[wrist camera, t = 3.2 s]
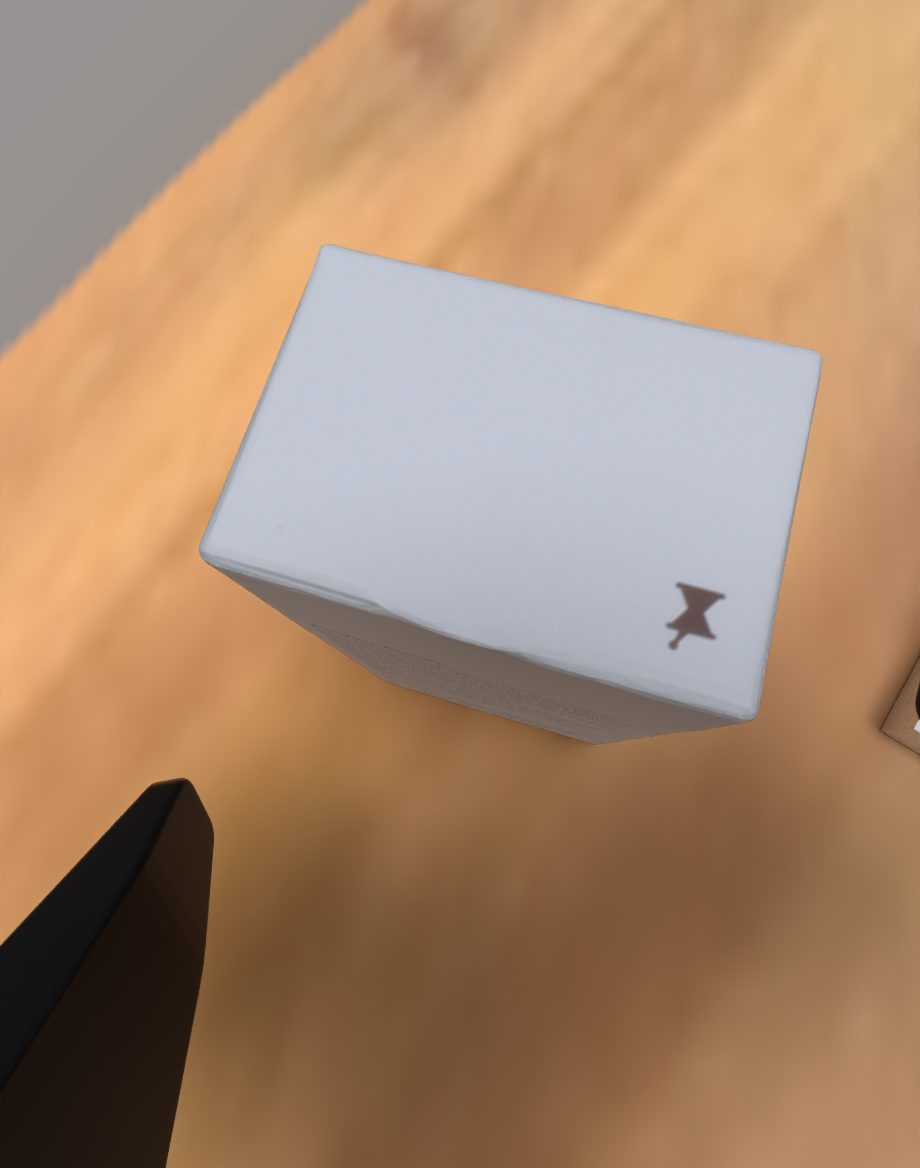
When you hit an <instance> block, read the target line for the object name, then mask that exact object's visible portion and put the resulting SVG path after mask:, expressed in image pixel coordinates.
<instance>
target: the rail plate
mask: <svg viewBox="0 0 920 1168" xmlns="http://www.w3.org/2000/svg"><path fill="white" fill-rule="evenodd" d="M919 682H920V658H919V660H918V661H917V663H916V665H915V667H914V669H913V671H912V673H911V674H910V676H909V678H908V680H907V682H906V684H905V686H904V687H903V689H902V691H901V693H900V695H899V697H898V699H897V700H896V702H895V704H894V706H893V708H892V710H891V712H890V713H889V715H888V717H887V719H886V721H885V723H884V725H883V726H882V728H881V730H880V731H882V732H884V733H885V734H887V735H888V736H890V737H892V738H893V739H895V740H897V741H898V742H900V743H902V744H903V745H905V746H907V747H908V748H910V749H912V750H913V751H915V752H917V753H918V754H920V720H919V718H918V715H917V712H916V707H915V699H916V694H917V690H918V686H919Z"/></svg>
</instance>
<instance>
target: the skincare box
mask: <svg viewBox="0 0 920 1168" xmlns="http://www.w3.org/2000/svg"><path fill="white" fill-rule="evenodd" d="M822 362H823V358H822V357H821V355H820V354H819V353H817V352H816V351H814V350H812V349H806V348H801V347H796V346H791V345H786V344H781V343H776V342H772V341H767V340H763V339H758V338H754V337H749V336H744V335H740V334H735V333H730V332H726V331H721V330H717V329H712V328H708V327H703V326H699V325H695V324H690V323H686V322H682V321H677V320H673V319H668V318H663V317H658V316H654V315H649V314H644V313H640V312H635V311H630V310H626V309H621V308H616V307H612V306H607V305H602V304H598V303H593V302H588V301H584V300H579V299H574V298H569V297H565V296H560V295H555V294H550V293H546V292H541V291H536V290H531V289H527V288H522V287H517V286H513V285H508V284H503V283H499V282H494V281H489V280H485V279H481V278H476V277H472V276H467V275H463V274H459V273H454V272H450V271H445V270H441V269H436V268H432V267H427V266H422V265H418V264H413V263H408V262H404V261H399V260H394V259H390V258H385V257H381V256H377V255H373V254H369V253H365V252H360V251H356V250H351V249H348V248H344V247H341V246H337V245H331V244H325V245H323V246H322V247H321V249H320V251H319V253H318V256H317V259H316V262H315V265H314V268H313V271H312V273H311V276H310V278H309V281H308V283H307V286H306V288H305V290H304V293H303V295H302V298H301V300H300V302H299V305H298V307H297V310H296V312H295V314H294V317H293V319H292V322H291V324H290V326H289V329H288V331H287V334H286V336H285V338H284V341H283V343H282V346H281V348H280V351H279V353H278V355H277V358H276V360H275V363H274V365H273V367H272V370H271V372H270V375H269V377H268V379H267V382H266V384H265V387H264V389H263V392H262V394H261V396H260V399H259V401H258V404H257V406H256V409H255V411H254V413H253V416H252V418H251V421H250V423H249V426H248V428H247V431H246V433H245V435H244V438H243V440H242V443H241V445H240V448H239V450H238V453H237V455H236V457H235V460H234V462H233V465H232V467H231V470H230V472H229V474H228V477H227V479H226V482H225V484H224V487H223V489H222V492H221V494H220V496H219V499H218V501H217V504H216V506H215V509H214V511H213V513H212V516H211V518H210V521H209V523H208V525H207V528H206V530H205V532H204V535H203V537H202V540H201V542H200V545H199V552H200V555H201V557H202V558H203V560H204V561H205V562H206V563H207V564H209V565H211V566H212V567H214V568H215V569H217V570H218V571H220V572H221V573H223V574H224V575H226V576H227V577H229V578H230V579H232V580H233V581H235V582H236V583H238V584H239V585H241V586H242V587H244V588H245V589H247V590H248V591H250V592H251V593H253V594H254V595H256V596H257V597H259V598H260V599H261V600H263V601H264V602H266V603H267V604H269V605H270V606H272V607H273V608H275V609H276V610H278V611H279V612H281V613H282V614H284V615H285V616H287V617H288V618H290V619H291V620H293V621H294V622H296V623H297V624H299V625H300V626H301V627H303V628H304V629H306V630H308V631H309V632H311V633H312V634H314V635H316V636H317V637H319V638H320V639H322V640H323V641H325V642H326V643H327V644H329V645H331V646H332V647H334V648H336V649H337V650H339V651H340V652H342V653H343V654H345V655H346V656H348V657H349V658H351V659H352V660H354V661H355V662H357V663H359V664H360V665H361V666H363V667H364V668H366V669H367V670H369V671H370V672H372V673H373V674H375V675H376V676H378V677H379V678H381V679H382V680H384V681H386V682H389V683H392V684H396V685H399V686H402V687H405V688H408V689H412V690H415V691H418V692H421V693H424V694H427V695H430V696H433V697H437V698H440V699H443V700H447V701H450V702H453V703H457V704H460V705H463V706H466V707H470V708H473V709H476V710H480V711H483V712H486V713H489V714H493V715H496V716H500V717H503V718H506V719H510V720H513V721H517V722H520V723H524V724H527V725H531V726H534V727H537V728H541V729H544V730H548V731H551V732H555V733H558V734H561V735H565V736H568V737H571V738H575V739H578V740H581V741H584V742H587V743H590V744H595V745H596V744H603V743H611V742H617V741H622V740H629V739H635V738H643V737H653V736H658V735H665V734H671V733H679V732H688V731H698V730H705V729H711V728H716V727H722V726H727V725H733V724H739V723H744V722H748V721H751V720H752V719H753V718H755V717H756V716H757V714H758V712H759V706H760V700H761V694H762V689H763V683H764V677H765V672H766V666H767V660H768V655H769V649H770V643H771V638H772V632H773V626H774V620H775V615H776V609H777V604H778V599H779V593H780V588H781V582H782V577H783V571H784V566H785V561H786V555H787V550H788V544H789V539H790V534H791V528H792V523H793V517H794V512H795V507H796V502H797V496H798V491H799V486H800V480H801V475H802V470H803V464H804V459H805V454H806V448H807V443H808V438H809V433H810V428H811V423H812V417H813V412H814V407H815V402H816V397H817V392H818V386H819V381H820V375H821V369H822Z"/></svg>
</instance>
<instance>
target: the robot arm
mask: <svg viewBox="0 0 920 1168" xmlns="http://www.w3.org/2000/svg"><path fill="white" fill-rule="evenodd" d="M915 707H916V712H917V715H918V718H919V720H920V682H919V686H918V690H917V694H916V699H915ZM213 847H214V831H213V826H212V822H211V820H210V818H209V816H208V814H207V812H206V810H205V808H204V806H203V804H202V802H201V800H200V798H199V796H198V794H197V792H196V790H195V788H194V786H193V785H192V783H191V782H190V781H189V780H188V779H185V778H178V779H172V780H167V781H161V782H156V783H154V784H152V785H150V786H149V787H148V788H147V789H146V790H145V791H144V792H143V793H142V794H141V795H140V796H139V797H138V799H137V800H136V801H135V802H134V803H133V804H132V805H131V806H130V807H129V808H128V809H127V810H126V811H125V812H124V814H123V815H122V816H121V817H120V818H119V819H118V820H117V821H116V822H115V823H114V824H113V825H112V826H111V828H110V829H109V830H108V831H107V832H106V833H105V834H104V835H103V836H102V837H101V838H100V839H99V840H98V841H97V843H96V844H95V845H94V846H93V847H92V848H91V849H90V850H89V851H88V852H87V853H86V854H85V855H84V856H83V858H82V859H81V860H80V861H79V862H78V863H77V864H76V865H75V866H74V867H73V868H72V869H71V870H70V871H69V873H68V874H67V875H66V876H65V877H64V878H63V879H62V880H61V881H60V882H59V883H58V884H57V885H56V886H55V888H54V889H53V890H52V891H51V892H50V893H49V894H48V895H47V896H46V897H45V898H44V899H43V900H42V901H41V903H40V904H39V905H38V906H37V907H36V908H35V909H34V910H33V911H32V912H31V913H30V914H29V915H28V917H27V918H26V919H25V920H24V921H23V922H22V923H21V924H20V925H19V926H18V927H17V928H16V929H15V930H14V932H13V933H12V934H11V935H10V936H9V937H8V938H7V939H6V940H5V941H4V942H3V943H2V944H1V945H0V1168H166V1162H167V1157H168V1152H169V1147H170V1141H171V1136H172V1131H173V1126H174V1120H175V1115H176V1110H177V1105H178V1099H179V1094H180V1089H181V1083H182V1078H183V1073H184V1068H185V1062H186V1057H187V1052H188V1047H189V1041H190V1036H191V1031H192V1026H193V1020H194V1015H195V1010H196V1004H197V999H198V994H199V989H200V983H201V977H202V971H203V965H204V956H205V946H206V935H207V922H208V910H209V897H210V885H211V872H212V859H213Z"/></svg>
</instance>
